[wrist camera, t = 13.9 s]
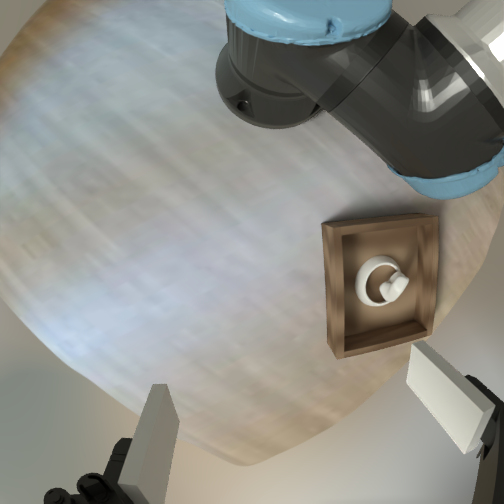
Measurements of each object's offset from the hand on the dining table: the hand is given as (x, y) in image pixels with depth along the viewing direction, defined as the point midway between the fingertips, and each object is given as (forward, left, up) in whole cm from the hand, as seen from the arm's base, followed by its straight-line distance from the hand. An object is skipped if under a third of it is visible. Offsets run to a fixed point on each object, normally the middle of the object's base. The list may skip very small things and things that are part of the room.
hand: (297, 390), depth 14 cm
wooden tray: (+5, +17, -27) cm, 32 cm away
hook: (+5, +17, -26) cm, 31 cm away
